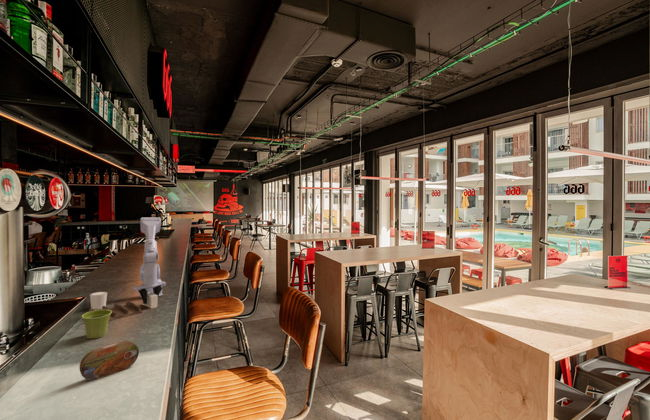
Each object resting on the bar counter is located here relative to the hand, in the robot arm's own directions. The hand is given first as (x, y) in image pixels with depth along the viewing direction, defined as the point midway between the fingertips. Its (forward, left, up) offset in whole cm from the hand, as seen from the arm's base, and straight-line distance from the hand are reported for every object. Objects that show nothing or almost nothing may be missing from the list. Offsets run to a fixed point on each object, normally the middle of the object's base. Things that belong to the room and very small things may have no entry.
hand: (150, 302), depth 154 cm
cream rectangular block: (0, 0, -2) cm, 2 cm away
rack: (+16, 0, -2) cm, 16 cm away
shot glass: (+17, -16, -2) cm, 23 cm away
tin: (+36, +53, -2) cm, 64 cm away
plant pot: (+29, +20, -2) cm, 35 cm away
